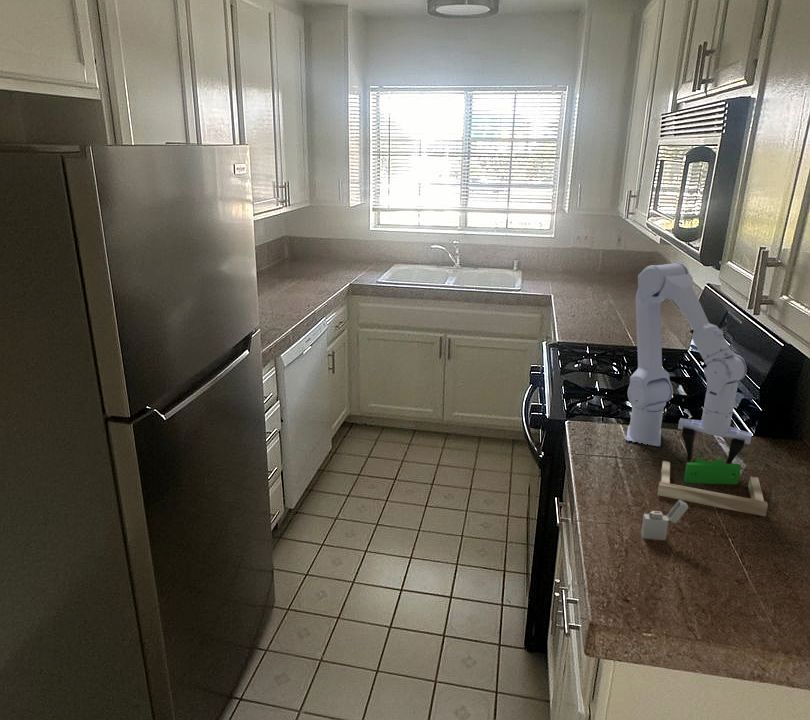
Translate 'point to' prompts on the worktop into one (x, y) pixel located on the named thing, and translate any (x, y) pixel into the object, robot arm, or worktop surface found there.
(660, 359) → the robot arm
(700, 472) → the pipe clamp
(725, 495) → the frame
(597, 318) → the worktop surface
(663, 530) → the lighter
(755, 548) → the worktop surface
